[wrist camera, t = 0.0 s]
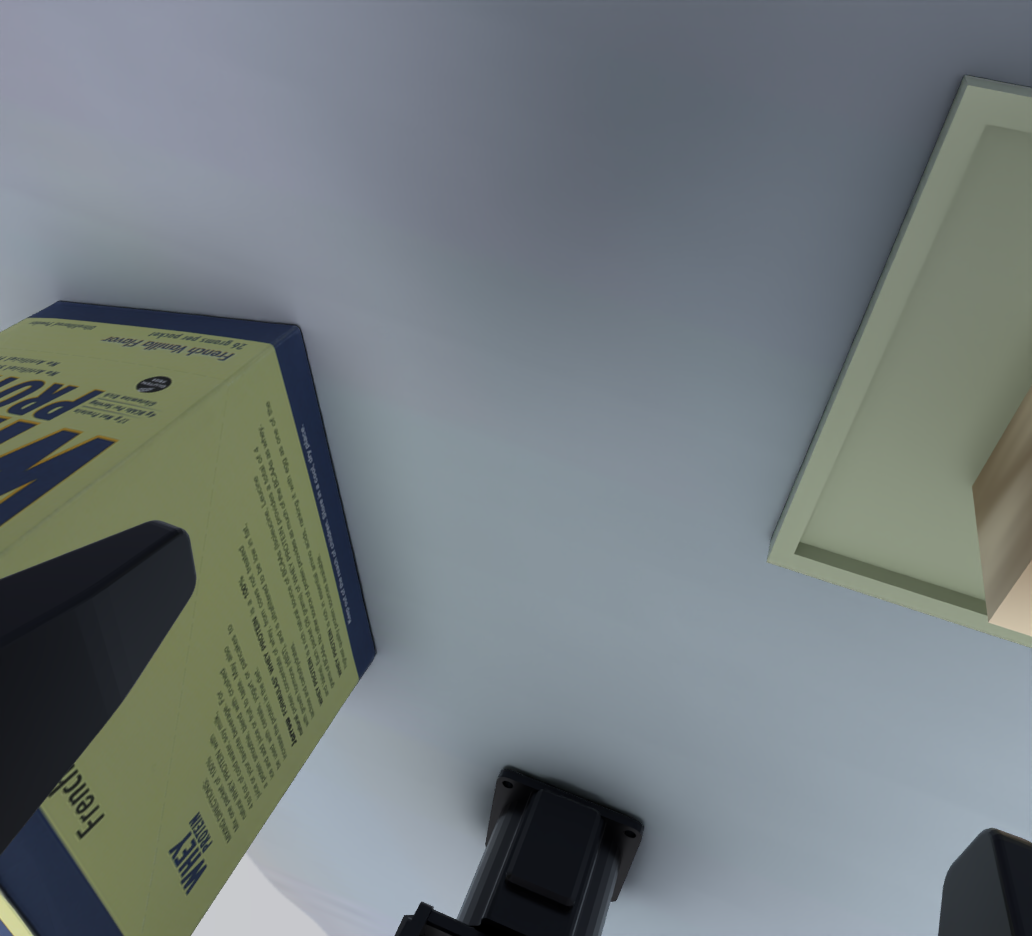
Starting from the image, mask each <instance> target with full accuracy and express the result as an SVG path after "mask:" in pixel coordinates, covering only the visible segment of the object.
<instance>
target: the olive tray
mask: <svg viewBox="0 0 1032 936" xmlns="http://www.w3.org/2000/svg"><path fill="white" fill-rule="evenodd" d="M1031 385H1032V88H1030V87H1025V86H1020V85H1014V84H1009V83H1004V82H999V81H994V80H989V79H984V78H979V77H973V76H968V75H964V77H963V79H962V82H961V84H960V87H959V89H958V91H957V94H956V96H955V99H954V101H953V103H952V106H951V108H950V111H949V113H948V115H947V118H946V120H945V123H944V125H943V127H942V130H941V132H940V135H939V137H938V139H937V142H936V144H935V147H934V149H933V151H932V154H931V156H930V159H929V161H928V164H927V166H926V168H925V171H924V173H923V176H922V178H921V180H920V183H919V185H918V188H917V190H916V192H915V195H914V197H913V200H912V202H911V204H910V207H909V209H908V212H907V214H906V216H905V219H904V221H903V224H902V226H901V228H900V231H899V233H898V236H897V238H896V240H895V243H894V245H893V248H892V250H891V252H890V255H889V257H888V260H887V262H886V264H885V267H884V269H883V272H882V274H881V276H880V279H879V281H878V284H877V286H876V288H875V291H874V293H873V296H872V298H871V300H870V303H869V305H868V308H867V310H866V312H865V315H864V317H863V320H862V322H861V324H860V327H859V329H858V332H857V334H856V336H855V339H854V341H853V344H852V346H851V348H850V351H849V353H848V356H847V358H846V360H845V363H844V365H843V368H842V370H841V372H840V375H839V377H838V380H837V382H836V385H835V387H834V389H833V392H832V394H831V397H830V399H829V401H828V404H827V406H826V409H825V411H824V413H823V416H822V418H821V421H820V423H819V425H818V428H817V430H816V433H815V435H814V437H813V440H812V442H811V445H810V447H809V449H808V452H807V454H806V457H805V459H804V461H803V464H802V466H801V469H800V471H799V473H798V476H797V478H796V481H795V483H794V485H793V488H792V490H791V493H790V495H789V497H788V500H787V502H786V505H785V507H784V509H783V512H782V514H781V517H780V519H779V521H778V524H777V526H776V529H775V531H774V533H773V536H772V538H771V541H770V546H769V551H768V557H767V562H768V563H771V564H774V565H777V566H780V567H783V568H786V569H789V570H792V571H795V572H798V573H802V574H805V575H808V576H811V577H814V578H817V579H820V580H823V581H826V582H829V583H832V584H835V585H839V586H842V587H845V588H848V589H851V590H854V591H857V592H860V593H863V594H866V595H869V596H873V597H876V598H879V599H882V600H885V601H888V602H891V603H894V604H897V605H900V606H903V607H906V608H910V609H913V610H916V611H919V612H922V613H925V614H928V615H931V616H934V617H937V618H940V619H943V620H947V621H950V622H953V623H956V624H959V625H962V626H965V627H968V628H971V629H974V630H977V631H981V632H984V633H987V634H990V635H993V636H996V637H999V638H1002V639H1005V640H1008V641H1011V642H1014V643H1018V644H1021V645H1024V646H1027V647H1030V648H1032V636H1029V635H1025V634H1022V633H1019V632H1016V631H1013V630H1010V629H1007V628H1004V627H1001V626H997V625H994V624H991V623H988V616H987V608H986V600H985V591H984V583H983V575H982V566H981V558H980V550H979V541H978V533H977V525H976V516H975V508H974V499H973V491H972V486H973V484H974V482H975V481H976V479H977V477H978V475H979V474H980V472H981V470H982V469H983V467H984V465H985V464H986V462H987V460H988V458H989V457H990V455H991V453H992V452H993V450H994V448H995V447H996V445H997V443H998V441H999V440H1000V438H1001V436H1002V435H1003V433H1004V431H1005V430H1006V428H1007V426H1008V425H1009V423H1010V421H1011V419H1012V418H1013V416H1014V414H1015V413H1016V411H1017V409H1018V408H1019V406H1020V404H1021V402H1022V401H1023V399H1024V397H1025V396H1026V394H1027V392H1028V391H1029V389H1030V387H1031Z"/></svg>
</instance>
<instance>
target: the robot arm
mask: <svg viewBox="0 0 1032 936" xmlns="http://www.w3.org/2000/svg"><path fill="white" fill-rule="evenodd" d="M196 580H197V576H196V569H195V563H194V558H193V552H192V546H191V540H190V537H189V534H188V533H187V532H186V531H185V530H184V529H182V528H180V527H177V526H174V525H172V524H169V523H166V522H164V521H160V520H152V521H148V522H145V523H142V524H140V525H137V526H134V527H132V528H129V529H127V530H124V531H122V532H119V533H117V534H114V535H111V536H109V537H106V538H104V539H101V540H99V541H96V542H93V543H91V544H88V545H86V546H83V547H81V548H78V549H76V550H73V551H70V552H68V553H65V554H63V555H60V556H58V557H55V558H52V559H50V560H47V561H45V562H42V563H40V564H37V565H35V566H32V567H29V568H27V569H24V570H22V571H19V572H17V573H14V574H11V575H9V576H6V577H4V578H1V579H0V855H1V854H2V853H3V852H4V850H5V849H6V848H7V847H8V845H9V844H10V843H11V842H12V840H13V839H14V838H15V837H16V835H17V834H18V833H19V832H20V831H21V829H22V828H23V827H24V826H25V824H26V823H27V822H28V821H29V819H30V818H31V817H32V816H33V814H34V813H35V812H36V811H37V809H38V808H39V807H40V806H41V804H42V803H43V802H44V801H45V799H46V798H47V797H48V796H49V794H50V793H51V792H52V791H53V789H54V788H55V787H56V786H57V784H58V783H59V782H60V781H61V779H62V778H63V777H64V776H65V774H66V773H67V772H68V771H69V769H70V768H71V767H72V766H73V764H74V763H75V762H76V761H77V759H78V758H79V757H80V756H81V754H82V753H83V752H84V751H85V749H86V748H87V747H88V746H89V744H90V743H91V742H92V741H93V739H94V738H95V737H96V736H97V734H98V733H99V732H100V731H101V729H102V728H103V727H104V726H105V724H106V723H107V722H108V721H109V719H110V718H111V717H112V715H113V714H114V713H115V711H116V710H117V709H118V708H119V706H120V705H121V704H122V702H123V701H124V699H125V698H126V697H127V695H128V694H129V692H130V691H131V689H132V688H133V686H134V685H135V683H136V682H137V680H138V679H139V677H140V676H141V674H142V673H143V671H144V669H145V668H146V666H147V665H148V663H149V662H150V660H151V659H152V657H153V655H154V654H155V652H156V651H157V649H158V648H159V646H160V645H161V643H162V641H163V640H164V638H165V637H166V635H167V634H168V632H169V631H170V629H171V628H172V626H173V624H174V623H175V621H176V620H177V618H178V617H179V615H180V614H181V612H182V610H183V609H184V607H185V606H186V604H187V603H188V601H189V600H190V598H191V596H192V594H193V592H194V589H195V586H196ZM643 832H644V827H643V825H642V824H641V823H640V822H638V821H637V820H635V819H632V818H630V817H627V816H625V815H622V814H620V813H617V812H615V811H612V810H610V809H607V808H605V807H602V806H600V805H597V804H595V803H592V802H590V801H587V800H585V799H582V798H580V797H577V796H575V795H572V794H570V793H567V792H565V791H562V790H560V789H557V788H555V787H552V786H550V785H547V784H545V783H542V782H540V781H537V780H535V779H532V778H530V777H527V776H525V775H522V774H520V773H517V772H515V771H512V770H508V769H504V770H501V772H500V774H499V777H498V779H497V783H496V788H495V794H494V799H493V805H492V810H491V816H490V821H489V827H488V832H487V837H486V843H485V845H486V849H485V852H484V854H483V857H482V859H481V861H480V864H479V866H478V869H477V871H476V873H475V876H474V878H473V881H472V883H471V886H470V888H469V890H468V893H467V895H466V898H465V900H464V902H463V905H462V907H461V910H460V912H459V915H458V917H457V919H454V918H452V917H449V916H447V915H445V914H443V913H440V912H438V911H436V910H434V909H433V908H434V907H433V906H431V905H428V904H426V903H424V902H421V903H420V905H419V907H418V909H417V911H416V912H415V914H414V915H404V917H403V919H402V921H401V923H400V925H399V927H398V930H397V932H396V934H395V936H601V934H602V931H603V927H604V923H605V920H606V916H607V912H608V909H609V905H610V902H613V901H616V900H617V898H618V895H619V893H620V891H621V888H622V886H623V883H624V881H625V878H626V876H627V873H628V871H629V869H630V866H631V864H632V861H633V859H634V856H635V854H636V851H637V849H638V847H639V844H640V842H641V839H642V836H643ZM938 936H1032V843H1031V842H1029V841H1027V840H1025V839H1023V838H1020V837H1017V836H1015V835H1012V834H1009V833H1006V832H1004V831H1001V830H998V829H995V828H989V829H985V830H983V831H982V832H981V833H980V834H979V835H978V836H977V837H976V838H975V839H974V840H973V842H972V843H971V844H970V845H969V846H968V847H967V848H966V849H965V850H964V852H963V853H962V854H961V855H960V856H959V857H958V858H957V859H956V860H955V862H954V863H953V864H952V865H951V867H950V868H949V870H948V872H947V875H946V878H945V881H944V885H943V893H942V903H941V913H940V922H939V932H938Z"/></svg>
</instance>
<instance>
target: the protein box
mask: <svg viewBox="0 0 1032 936" xmlns="http://www.w3.org/2000/svg"><path fill="white" fill-rule="evenodd" d="M152 520H160V521H164V522H166V523H169V524H172V525H174V526H177V527H180V528H182V529H184V530H185V531H186V532H187V533H188V534H189V537H190V540H191V546H192V552H193V558H194V563H195V569H196V576H197V580H196V586H195V589H194V592H193V594H192V596H191V598H190V600H189V601H188V603H187V604H186V606H185V607H184V609H183V610H182V612H181V614H180V615H179V617H178V618H177V620H176V621H175V623H174V624H173V626H172V628H171V629H170V631H169V632H168V634H167V635H166V637H165V638H164V640H163V641H162V643H161V645H160V646H159V648H158V649H157V651H156V652H155V654H154V655H153V657H152V659H151V660H150V662H149V663H148V665H147V666H146V668H145V669H144V671H143V673H142V674H141V676H140V677H139V679H138V680H137V682H136V683H135V685H134V686H133V688H132V689H131V691H130V692H129V694H128V695H127V697H126V698H125V699H124V701H123V702H122V704H121V705H120V706H119V708H118V709H117V710H116V711H115V713H114V714H113V715H112V717H111V718H110V719H109V721H108V722H107V723H106V724H105V726H104V727H103V728H102V729H101V731H100V732H99V733H98V734H97V736H96V737H95V738H94V739H93V741H92V742H91V743H90V744H89V746H88V747H87V748H86V749H85V751H84V752H83V753H82V754H81V756H80V757H79V758H78V759H77V761H76V762H75V763H74V764H73V766H72V767H71V768H70V769H69V771H68V772H67V773H66V774H65V776H64V777H63V778H62V779H61V781H60V782H59V783H58V784H57V786H56V787H55V788H54V789H53V791H52V792H51V793H50V794H49V796H48V797H47V798H46V799H45V801H44V802H43V803H42V804H41V806H40V807H39V808H38V809H37V811H36V812H35V813H34V814H33V816H32V817H31V818H30V819H29V821H28V822H27V823H26V824H25V826H24V827H23V828H22V829H21V831H20V832H19V833H18V834H17V835H16V837H15V838H14V839H13V840H12V842H11V843H10V844H9V845H8V847H7V848H6V849H5V850H4V852H3V853H2V854H1V855H0V936H191V934H192V933H193V931H194V930H195V928H196V927H197V925H198V924H199V922H200V921H201V919H202V918H203V916H204V915H205V913H206V912H207V910H208V909H209V907H210V906H211V904H212V903H213V901H214V900H215V898H216V896H217V895H218V894H219V892H220V890H221V889H222V887H223V886H224V884H225V883H226V881H227V880H228V878H229V877H230V875H231V874H232V872H233V871H234V869H235V868H236V866H237V865H238V863H239V862H240V860H241V858H242V857H243V856H244V854H245V853H246V851H247V850H248V848H249V847H250V845H251V844H252V842H253V840H254V839H255V837H256V836H257V834H258V833H259V831H260V830H261V828H262V827H263V825H264V824H265V822H266V821H267V819H268V818H269V816H270V815H271V813H272V812H273V810H274V809H275V807H276V806H277V804H278V803H279V801H280V800H281V798H282V797H283V795H284V794H285V792H286V791H287V789H288V788H289V786H290V785H291V783H292V782H293V780H294V778H295V777H296V775H297V774H298V772H299V771H300V769H301V768H302V766H303V765H304V763H305V762H306V760H307V759H308V757H309V756H310V754H311V753H312V751H313V750H314V748H315V747H316V745H317V743H318V742H319V740H320V739H321V737H322V736H323V734H324V733H325V731H326V730H327V728H328V727H329V725H330V724H331V722H332V721H333V719H334V718H335V716H336V715H337V713H338V711H339V710H340V708H341V707H342V705H343V704H344V702H345V701H346V699H347V698H348V696H349V695H350V693H351V692H352V691H353V689H354V688H355V686H356V685H357V683H358V682H359V680H360V679H361V677H362V676H363V674H364V673H365V672H366V670H367V669H368V667H369V666H370V665H371V663H372V662H373V659H374V657H375V654H376V653H375V649H374V645H373V641H372V636H371V632H370V628H369V623H368V619H367V615H366V611H365V607H364V603H363V598H362V593H361V588H360V584H359V580H358V576H357V572H356V567H355V563H354V558H353V553H352V549H351V544H350V540H349V536H348V532H347V527H346V523H345V519H344V514H343V510H342V505H341V501H340V497H339V493H338V489H337V484H336V480H335V476H334V472H333V468H332V463H331V459H330V455H329V450H328V446H327V442H326V437H325V433H324V429H323V424H322V420H321V416H320V411H319V407H318V403H317V398H316V394H315V390H314V385H313V381H312V377H311V373H310V368H309V364H308V360H307V356H306V352H305V347H304V343H303V339H302V335H301V331H300V329H299V328H298V327H297V326H295V325H283V324H272V323H263V322H254V321H245V320H235V319H226V318H217V317H209V316H201V315H189V314H180V313H170V312H160V311H151V310H141V309H131V308H119V307H109V306H99V305H89V304H80V303H71V302H62V301H57V302H56V303H54V304H52V305H51V306H49V307H47V308H45V309H43V310H41V311H39V312H38V313H36V314H34V315H32V316H30V317H28V318H26V319H24V320H22V321H20V322H18V323H17V324H15V325H13V326H11V327H9V328H7V329H6V330H4V331H2V332H0V579H1V578H4V577H6V576H9V575H11V574H14V573H17V572H19V571H22V570H24V569H27V568H29V567H32V566H35V565H37V564H40V563H42V562H45V561H47V560H50V559H52V558H55V557H58V556H60V555H63V554H65V553H68V552H70V551H73V550H76V549H78V548H81V547H83V546H86V545H88V544H91V543H93V542H96V541H99V540H101V539H104V538H106V537H109V536H111V535H114V534H117V533H119V532H122V531H124V530H127V529H129V528H132V527H134V526H137V525H140V524H142V523H145V522H148V521H152Z"/></svg>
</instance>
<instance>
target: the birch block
mask: <svg viewBox="0 0 1032 936" xmlns="http://www.w3.org/2000/svg"><path fill="white" fill-rule="evenodd" d="M972 491H973V499H974V508H975V516H976V525H977V533H978V541H979V550H980V558H981V566H982V575H983V583H984V591H985V600H986V608H987V616H988V623H991V624H994V625H997V626H1001V627H1004V628H1007V629H1010V630H1013V631H1016V632H1019V633H1022V634H1025V635H1029V636H1032V385H1031V387H1030V389H1029V391H1028V392H1027V394H1026V396H1025V397H1024V399H1023V401H1022V402H1021V404H1020V406H1019V408H1018V409H1017V411H1016V413H1015V414H1014V416H1013V418H1012V419H1011V421H1010V423H1009V425H1008V426H1007V428H1006V430H1005V431H1004V433H1003V435H1002V436H1001V438H1000V440H999V441H998V443H997V445H996V447H995V448H994V450H993V452H992V453H991V455H990V457H989V458H988V460H987V462H986V464H985V465H984V467H983V469H982V470H981V472H980V474H979V475H978V477H977V479H976V481H975V482H974V484H973V486H972Z"/></svg>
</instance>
